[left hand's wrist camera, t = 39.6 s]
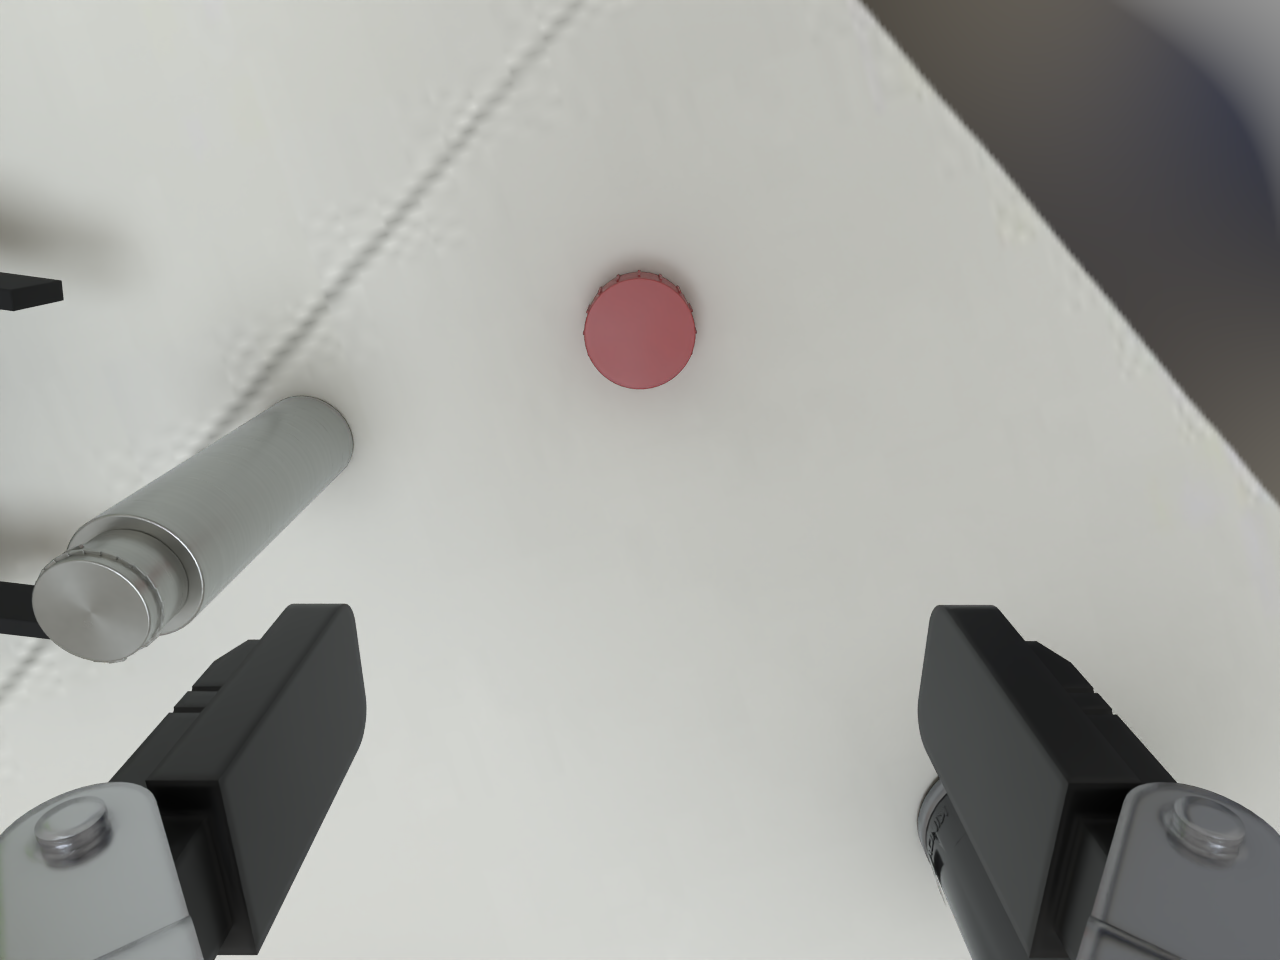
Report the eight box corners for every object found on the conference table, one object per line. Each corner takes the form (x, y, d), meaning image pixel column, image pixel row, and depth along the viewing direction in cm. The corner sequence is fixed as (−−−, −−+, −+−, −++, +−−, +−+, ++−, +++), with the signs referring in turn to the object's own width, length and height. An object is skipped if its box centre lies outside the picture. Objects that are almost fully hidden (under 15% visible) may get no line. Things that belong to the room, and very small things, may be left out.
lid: (654, 397, 38) (655, 411, 36) (566, 340, 37) (561, 351, 35) (714, 309, 36) (718, 318, 34) (623, 249, 35) (622, 254, 33)
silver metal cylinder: (250, 403, 38) (-13, 556, 23) (338, 389, 38) (133, 534, 22) (278, 487, 39) (50, 685, 24) (364, 474, 39) (187, 665, 24)
